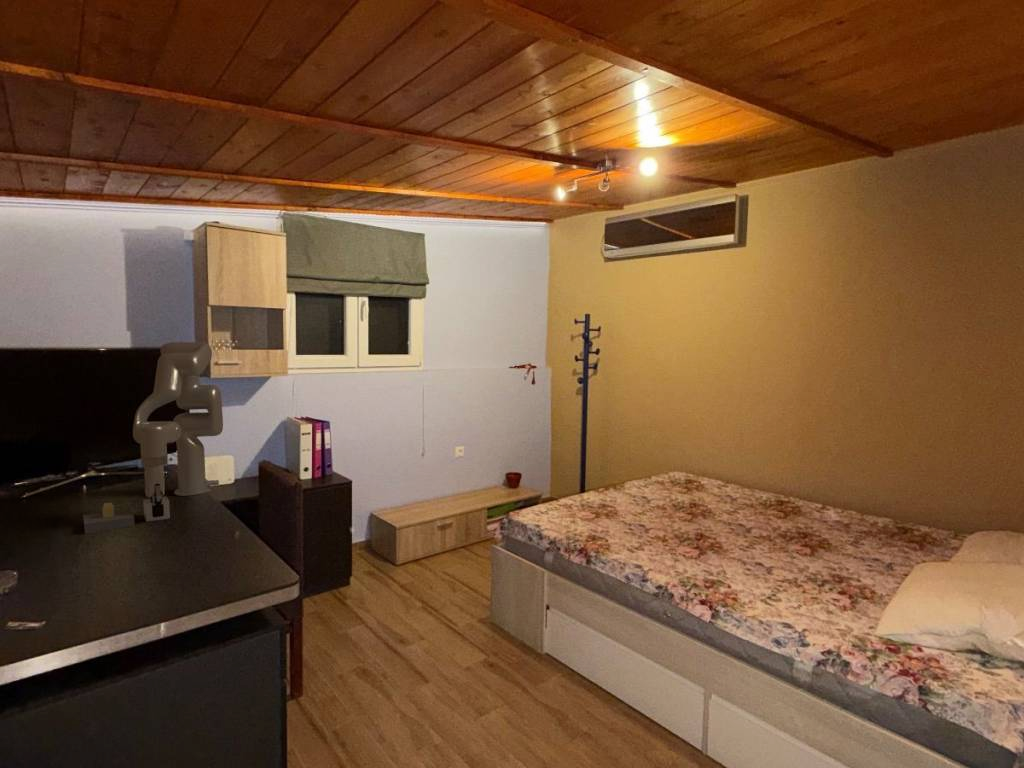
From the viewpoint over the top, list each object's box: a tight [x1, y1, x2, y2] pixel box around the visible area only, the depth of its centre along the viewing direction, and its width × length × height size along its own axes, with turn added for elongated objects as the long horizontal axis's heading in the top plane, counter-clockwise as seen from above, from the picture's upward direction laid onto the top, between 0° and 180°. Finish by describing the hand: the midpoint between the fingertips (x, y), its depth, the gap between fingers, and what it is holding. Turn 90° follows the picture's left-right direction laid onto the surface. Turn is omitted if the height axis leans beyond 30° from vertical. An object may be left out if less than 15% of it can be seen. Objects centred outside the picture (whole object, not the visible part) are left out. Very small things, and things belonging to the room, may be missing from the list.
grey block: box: [82, 502, 135, 534], centre depth 196 cm, size 13×13×7 cm
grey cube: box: [142, 496, 171, 523], centre depth 204 cm, size 7×7×6 cm
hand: (156, 513), depth 204 cm, fingers closed on grey cube, 6 cm apart
